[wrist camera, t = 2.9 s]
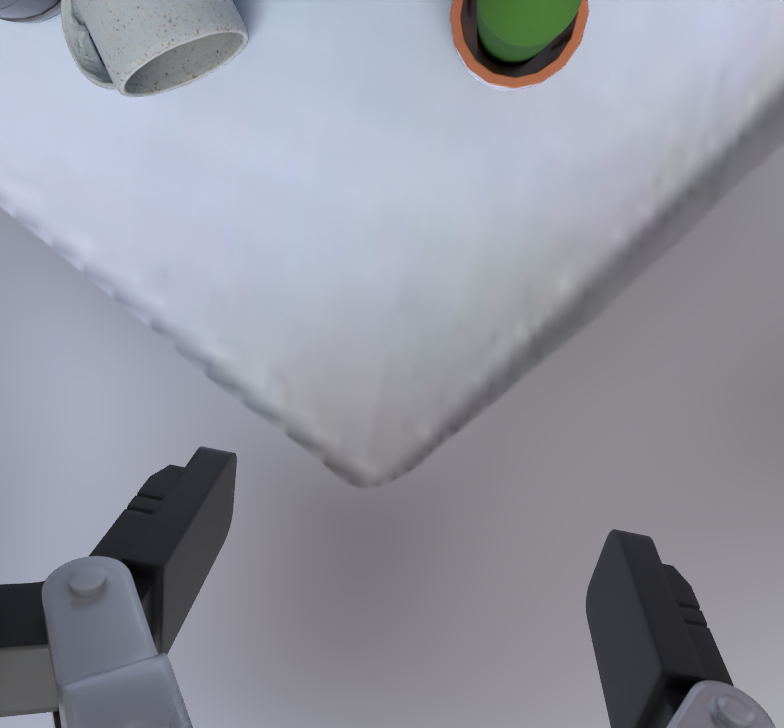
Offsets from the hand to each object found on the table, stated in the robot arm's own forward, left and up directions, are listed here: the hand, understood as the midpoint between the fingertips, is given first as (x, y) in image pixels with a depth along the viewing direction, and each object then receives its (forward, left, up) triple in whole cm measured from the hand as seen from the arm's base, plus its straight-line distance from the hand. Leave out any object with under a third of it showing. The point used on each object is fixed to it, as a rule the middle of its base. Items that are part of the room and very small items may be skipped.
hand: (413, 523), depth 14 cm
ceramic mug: (-20, +10, -30) cm, 37 cm away
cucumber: (0, +13, -29) cm, 31 cm away
